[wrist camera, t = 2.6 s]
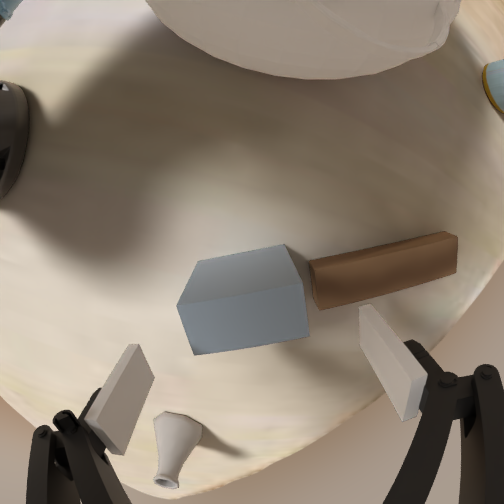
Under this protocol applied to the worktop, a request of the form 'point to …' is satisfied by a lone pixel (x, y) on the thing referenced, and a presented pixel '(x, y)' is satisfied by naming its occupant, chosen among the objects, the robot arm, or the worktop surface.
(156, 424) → the flask
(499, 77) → the bottle
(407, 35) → the pot
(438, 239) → the block
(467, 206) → the worktop surface
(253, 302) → the slab
